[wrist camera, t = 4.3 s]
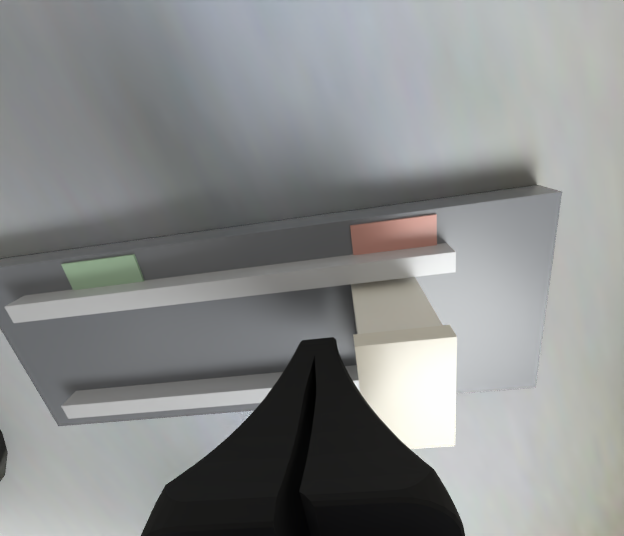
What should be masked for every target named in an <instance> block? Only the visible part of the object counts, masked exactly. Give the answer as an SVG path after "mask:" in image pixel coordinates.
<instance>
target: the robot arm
mask: <svg viewBox="0 0 624 536" xmlns="http://www.w3.org/2000/svg"><path fill="white" fill-rule="evenodd" d="M141 536H465V533H464V528H463V524H462V521H461V519H460V516H459V514H458V512H457V509H456V507H455V505H454V503H453V501H452V499H451V497H450V495H449V494H448V492H447V490H446V488H445V487H444V485H443V483H442V482H441V480H440V478H439V477H438V475H437V474H436V472H435V470H434V469H433V468H432V467H430V466H429V465H428V464H427V463H425V462H424V461H423V460H422V459H421V458H419V457H418V456H417V455H416V454H415V453H414V452H413V451H411V450H410V449H409V448H408V447H407V446H406V445H405V444H404V443H403V442H402V441H401V440H400V439H399V438H398V437H397V436H396V435H395V434H394V433H393V432H392V431H391V430H390V429H389V428H388V427H387V426H386V425H385V423H384V422H383V421H382V420H381V419H380V418H379V417H378V416H377V414H376V413H375V412H374V411H373V409H372V408H371V407H370V406H369V404H368V403H367V402H366V400H365V399H364V397H363V396H362V395H361V393H360V392H359V390H358V388H357V387H356V385H355V384H354V382H353V380H352V379H351V377H350V375H349V373H348V371H347V369H346V367H345V365H344V363H343V361H342V359H341V356H340V354H339V351H338V347H337V340H336V339H335V338H334V337H329V338H319V339H309V340H302V341H301V342H300V343H299V345H298V347H297V349H296V351H295V353H294V355H293V356H292V358H291V360H290V362H289V363H288V365H287V367H286V368H285V370H284V371H283V373H282V374H281V376H280V378H279V379H278V381H277V382H276V383H275V385H274V386H273V387H272V389H271V390H270V392H269V393H268V394H267V396H266V397H265V398H264V400H263V401H262V402H261V403H260V404H259V406H258V407H257V408H256V409H255V410H254V411H253V413H252V414H251V415H250V416H249V417H248V418H247V419H246V420H245V421H244V422H243V423H242V424H241V425H240V426H239V427H238V428H237V429H236V430H235V431H234V432H233V433H232V434H231V435H230V436H229V437H228V438H227V439H226V440H225V441H223V442H222V443H221V444H220V445H219V446H218V447H216V448H215V449H214V450H213V451H212V452H210V453H209V454H208V455H207V456H205V457H204V458H203V459H202V460H200V461H199V462H198V463H196V464H195V465H194V466H192V467H191V468H189V469H188V470H186V471H185V472H184V473H182V474H181V475H179V476H178V477H177V478H175V479H174V480H172V481H171V482H169V483H168V484H166V485H165V487H164V489H163V491H162V493H161V495H160V496H159V498H158V500H157V502H156V504H155V506H154V508H153V510H152V512H151V515H150V517H149V519H148V521H147V523H146V526H145V528H144V530H143V532H142V534H141Z"/></svg>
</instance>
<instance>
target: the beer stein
mask: <svg viewBox="0 0 624 536" xmlns="http://www.w3.org/2000/svg"><path fill="white" fill-rule="evenodd" d="M6 461H7V449H6V445H5V441H4V438H3V434H2V432H1V430H0V481H1V480H2V478H3V477H4V476H5V470H6Z"/></svg>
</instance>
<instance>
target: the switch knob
mask: <svg viewBox="0 0 624 536" xmlns="http://www.w3.org/2000/svg"><path fill="white" fill-rule="evenodd" d="M351 290H352V298H353V307H354V315H355V324H356V332H357V334H353V337H354V346H355V354H356V362H357V370H358V379H359V387H360V393H361V395H362V396H363V397H364V399H365V400H366V402H367V403H368V404H369V406H370V407H371V408H372V409H373V411H374V412H375V413H376V414H377V416H378V417H379V418H380V419H381V420H382V421H383V422H384V423H385V425H386V426H387V427H388V428H389V429H390V430H391V431H392V432H393V433H394V434H395V435H396V436H397V437H398V438H399V439H400V440H401V441H402V442H403V443H404V444H405V445H406V446H407V447H408V448H409V449H419V448H434V447H449V446H455V424H456V369H457V336H456V334H455V333H454V331H453V329H452V328H451V326H450V325H442V323H441V321H440V320H439V318H438V316H437V314H436V313H435V311H434V309H433V308H432V306H431V304H430V302H429V301H428V299H427V297H426V295H425V294H424V292H423V290H422V288H421V287H420V285H419V283H418V282H417V280H416V278H415V277H410V278H401V279H392V280H384V281H375V282H366V283H358V284H351Z"/></svg>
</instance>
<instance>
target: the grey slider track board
mask: <svg viewBox="0 0 624 536" xmlns="http://www.w3.org/2000/svg"><path fill="white" fill-rule="evenodd" d="M561 195H562V192H561V191H558V190H554V189H550V188H547V187H543V186H540V185H534V186H527V187H519V188H512V189H505V190H498V191H490V192H483V193H476V194H468V195H461V196H454V197H447V198H439V199H432V200H425V201H417V202H410V203H403V204H396V205H388V206H381V207H374V208H366V209H359V210H352V211H345V212H337V213H330V214H323V215H315V216H308V217H301V218H294V219H286V220H279V221H272V222H264V223H257V224H250V225H243V226H235V227H228V228H221V229H214V230H206V231H199V232H192V233H184V234H177V235H170V236H163V237H155V238H148V239H141V240H133V241H126V242H119V243H112V244H104V245H97V246H90V247H82V248H75V249H68V250H61V251H53V252H46V253H39V254H31V255H24V256H17V257H10V258H2V259H0V328H1V330H2V332H3V333H4V335H5V337H6V339H7V340H8V342H9V344H10V345H11V347H12V349H13V350H14V352H15V354H16V355H17V357H18V359H19V360H20V362H21V364H22V365H23V367H24V369H25V370H26V372H27V374H28V376H29V377H30V379H31V381H32V382H33V384H34V386H35V387H36V389H37V391H38V392H39V394H40V396H41V397H42V399H43V401H44V402H45V404H46V406H47V408H48V409H49V411H50V413H51V414H52V416H53V418H54V419H55V421H56V423H57V424H58V426H66V425H79V424H91V423H104V422H116V421H128V420H141V419H153V418H165V417H178V416H190V415H203V414H215V413H227V412H240V411H252V410H255V409H256V408H257V407H258V406H259V404H260V403H261V402H262V401H263V400H264V398H265V397H266V396H267V394H268V393H269V392H270V390H271V389H272V387H273V386H274V385H275V383H276V382H277V381H278V379H279V378H280V376H281V374H282V373H283V371H284V370H285V368H286V367H287V365H288V363H289V362H290V360H291V358H292V356H293V355H294V353H295V351H296V349H297V347H298V345H299V343H300V342H301V341H302V340H309V339H319V338H329V337H334V338H335V339H336V340H337V347H338V351H339V354H340V356H341V359H342V361H343V363H344V365H345V367H346V369H347V371H348V373H349V375H350V377H351V379H352V380H353V382H354V384H355V385H356V387H357V388H358V390H359V392H360V387H359V379H358V370H357V362H356V354H355V346H354V337H353V334H357V332H356V324H355V315H354V307H353V298H352V290H351V284H358V283H366V282H375V281H384V280H392V279H401V278H410V277H415V278H416V280H417V282H418V283H419V285H420V287H421V288H422V290H423V292H424V294H425V295H426V297H427V299H428V301H429V302H430V304H431V306H432V308H433V309H434V311H435V313H436V314H437V316H438V318H439V320H440V321H441V323H442V325H450V326H451V328H452V329H453V331H454V333H455V334H456V336H457V369H456V394H463V393H475V392H487V391H500V390H512V389H525V388H536V381H537V374H538V367H539V359H540V352H541V344H542V337H543V329H544V322H545V314H546V307H547V299H548V292H549V285H550V277H551V270H552V262H553V255H554V247H555V240H556V232H557V225H558V217H559V210H560V203H561Z"/></svg>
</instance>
